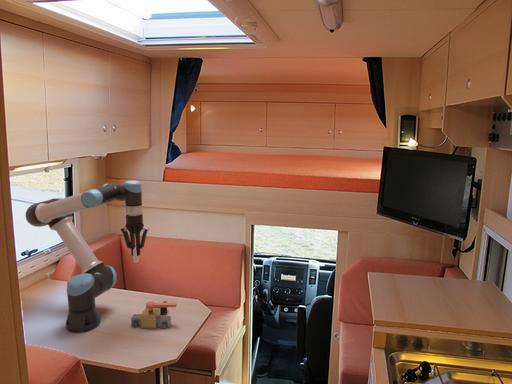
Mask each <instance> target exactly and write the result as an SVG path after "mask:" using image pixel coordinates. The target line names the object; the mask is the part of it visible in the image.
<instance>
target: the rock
mask: <svg viewBox="0 0 512 384" xmlns="http://www.w3.org/2000/svg"><path fill="white" fill-rule="evenodd" d="M157 303H168V301H167V300H165V301H162V302H157ZM154 308H160V314H161V315H164V316H166V313H167V312H168V307H154Z"/></svg>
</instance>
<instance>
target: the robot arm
mask: <svg viewBox="0 0 512 384" xmlns="http://www.w3.org/2000/svg"><path fill="white" fill-rule="evenodd" d="M142 195H143V189H142V182H140V180H127V181H124V184H120V183H119V184H117V183H104V184H103V185H102V186H100V187H97V188H92V189H88V190H87V191H83V192H80V193H78V194H73V195H71V196H67V197H64V198H62V197H57V198H51V199H48V200H44V201H41V202H36V203H34V204H31V205H30V206H28V208H27V210H26V211H25V220H26V222H27V223H28V224H29V225H31V226H33V227H36V228H38V227H39V228H40V227H46V226H48V227H49V228H50V230H51V231H55V232H56V233H57V235H58V236H59V237H60V239H61V241H62V242H63V243H64V245H65V247H66V248H67V249H68V251H69V252H70V254H71V256H72V257H73V259H74V260H75V261H76V263H77V264H78V266H79V268H80V270H81V273H80V274H76V275H74V276H72V277H71V278H69V279H68V281H67V283H66V293H67V294H66V295H67V304H68V306H67V307H68V313H67V317H66V321H65V329H66V330H67V331H68V332H71V333H85V332H89V331H92V330H94V329H95V328H97V327H99V326H100V324H101V316H100V314H99V311H98V310H97V307H96V298H98V297H99V296H101V295H103V294H104V293H106V292H107V291H110V289H112V288H113V287H114V286H116V285H115V284H116V283H117V275H118V274H117V272H116V270H115V268H114V267H112V266H110V265H106V263H104V261H102V260H98V258H97V257H96V255H95V253H94V252H93V251H92V249H91V247H90V246H89V244H88V243H87V242H86V240H85V238H84V237H83V235H82V234H81V233H80V231H79V230H78V228H77V227H76V225H75V224H74V222H73V220H74V216H73V214H74V213H78V212H81V211H85V210H88V209H92V208H96V207H99V206H101V205H105V204H108V203H111V202H114V201H120V202H124V203H125V206H124V207H125V214H126V215H125V221H126V223H125V226H124V227H122V228H120V231H121V233H122V234H123V237H124V241H125V245H126V247H127V249H130V251H131V256H133V257H132V258H133V263H134V264H137V263H139V261H140V257H139V256H140V255H141V249H143V248H144V247H145V243H146V239H147V234H148V232H149V231H150V229H149V228H148V227H146V226H145V225H144V219H143V218H144V217H143V216H144V215H143V196H142ZM141 232H142V234H141ZM141 235H142V236H141Z"/></svg>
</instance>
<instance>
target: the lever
mask: <svg viewBox="0 0 512 384" xmlns="http://www.w3.org/2000/svg"><path fill="white" fill-rule="evenodd" d="M145 306H146V307H145V308H148V309H151V308H154V307H167V308H176V307H177V306H178V305H177V302H167V303H162V302H160V303H158V302H155V301H147V302H146V303H145Z"/></svg>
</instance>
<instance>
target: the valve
mask: <svg viewBox="0 0 512 384" xmlns="http://www.w3.org/2000/svg"><path fill="white" fill-rule="evenodd" d="M130 321H131V322H130V325H131V327H132V328H139V327H141V329H150V330H151V329H152V330H156V329H157V328H160V329H161V330H167V329H169V328H170V326H171V324H172V316H171V315H161V314H160V308H151V309H148V308H146V307H145V308H144V310H143V311H142V312H141V313H139V314H138V313H133V315H132V316H131V317H130Z"/></svg>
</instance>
